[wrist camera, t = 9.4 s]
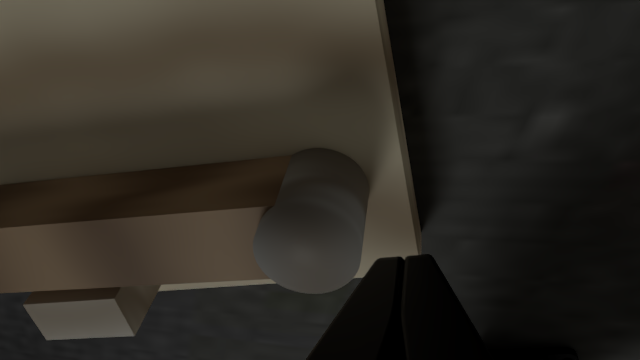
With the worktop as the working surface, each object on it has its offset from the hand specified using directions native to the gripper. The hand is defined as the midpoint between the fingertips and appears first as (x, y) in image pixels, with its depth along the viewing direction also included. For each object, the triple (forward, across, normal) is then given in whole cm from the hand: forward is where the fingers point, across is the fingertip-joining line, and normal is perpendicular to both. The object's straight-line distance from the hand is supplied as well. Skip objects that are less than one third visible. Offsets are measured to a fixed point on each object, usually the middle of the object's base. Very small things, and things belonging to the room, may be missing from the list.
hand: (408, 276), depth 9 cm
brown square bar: (+10, +10, +5) cm, 15 cm away
